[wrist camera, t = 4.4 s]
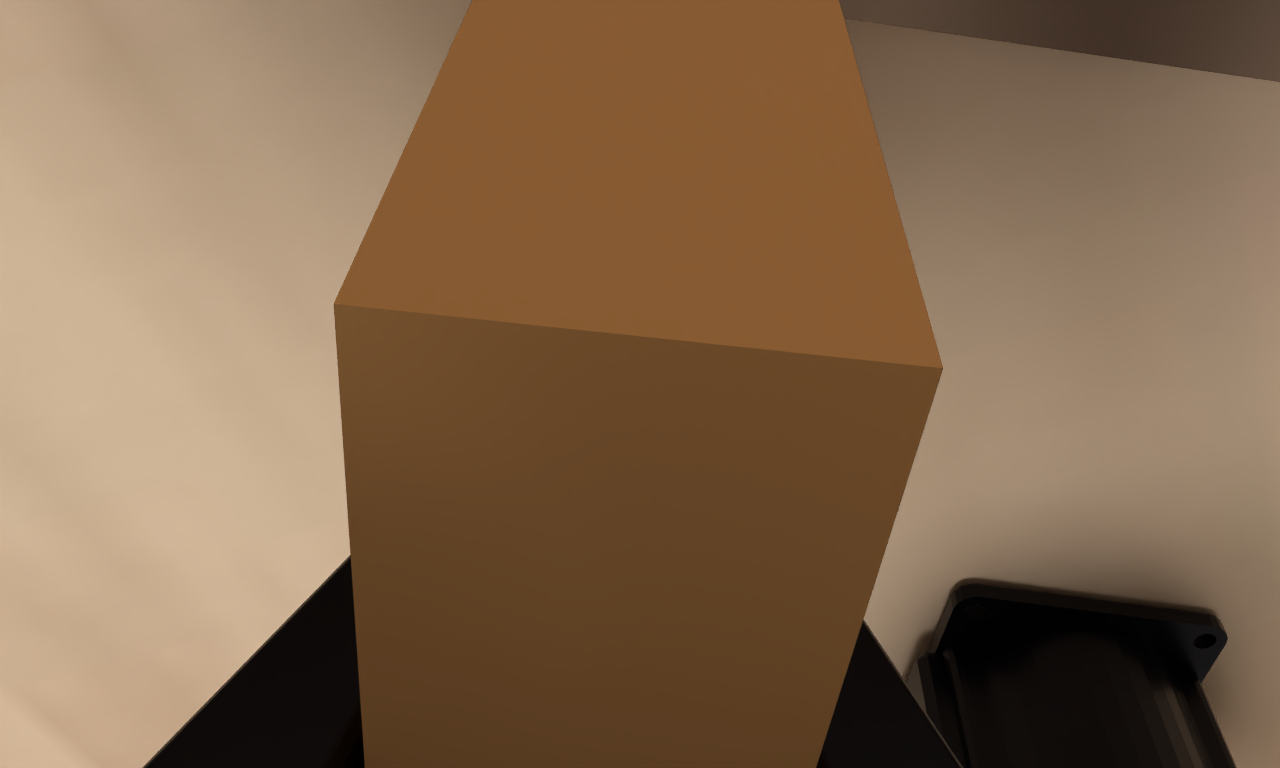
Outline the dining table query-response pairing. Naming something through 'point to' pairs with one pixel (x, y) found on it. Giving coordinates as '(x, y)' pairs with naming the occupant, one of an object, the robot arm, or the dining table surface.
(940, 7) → the hook stand
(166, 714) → the dining table surface
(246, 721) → the robot arm
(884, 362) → the wooden bracket
